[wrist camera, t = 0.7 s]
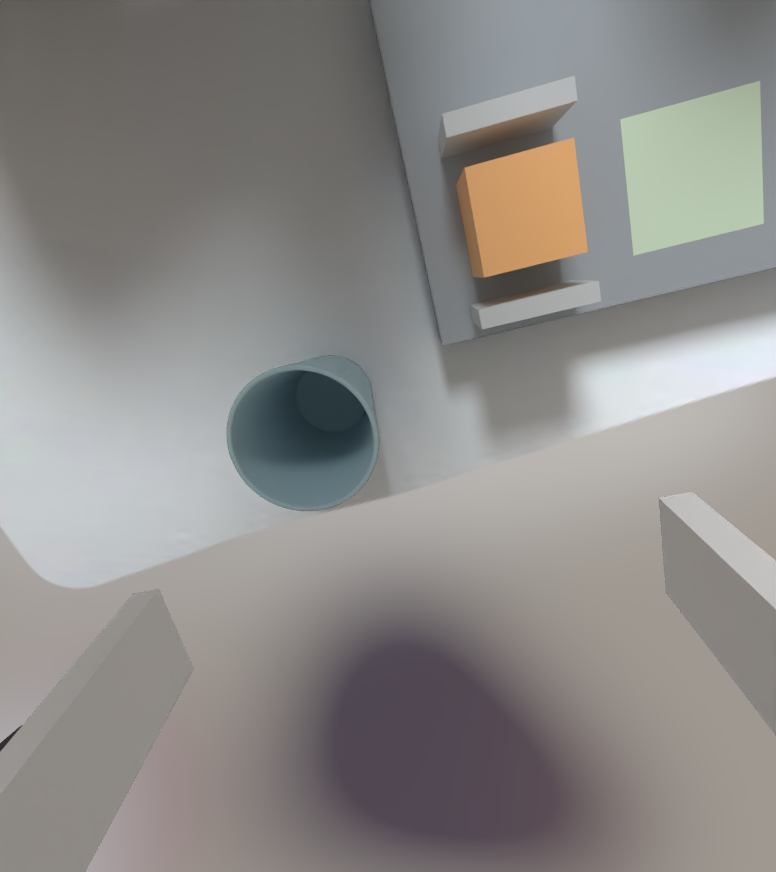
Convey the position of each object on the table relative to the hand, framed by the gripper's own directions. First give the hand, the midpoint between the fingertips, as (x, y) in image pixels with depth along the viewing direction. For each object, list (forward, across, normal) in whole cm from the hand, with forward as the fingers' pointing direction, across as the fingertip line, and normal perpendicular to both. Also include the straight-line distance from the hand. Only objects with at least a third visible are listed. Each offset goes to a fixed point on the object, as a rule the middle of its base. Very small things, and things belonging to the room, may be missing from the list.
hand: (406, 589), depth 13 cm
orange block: (+20, +8, +9) cm, 23 cm away
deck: (+23, +17, +13) cm, 31 cm away
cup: (+23, -5, +1) cm, 24 cm away
